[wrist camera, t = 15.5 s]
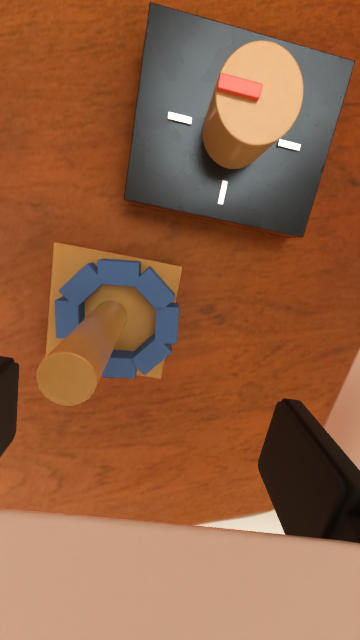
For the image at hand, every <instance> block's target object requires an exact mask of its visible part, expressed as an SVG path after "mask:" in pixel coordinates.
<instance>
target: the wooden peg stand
mask: <svg viewBox="0 0 360 640" xmlns="http://www.w3.org/2000/svg"><path fill="white" fill-rule="evenodd" d="M100 259H118V260H132V261H141V274H142V273H143V272H144V271H145V270H146V269H147V268H148V267H150V266H151V267H152V268H153V269H154V270H155V272H156V273H157V274H158V275H159V276H160V277H161V278H162V280H163V281H164V282H165V283H166V284H167V285H168V286H169V287H170V289H171V290H172V291H173V292H174V293H175V297H177V292H178V287H179V281H180V276H181V271H182V266H181V265H176V264H170V263H165V262H160V261H155V260H150V259H144V258H139V257H134V256H129V255H124V254H118V253H113V252H108V251H103V250H98V249H92V248H87V247H82V246H77V245H71V244H66V243H61V242H55V243H54V248H53V262H52V276H51V289H50V303H49V317H48V330H47V344H46V357H45V358H44V359H43V360H42V361H41V363H40V364H39V366H38V369H37V373H36V380H37V385H38V387H39V389H40V391H41V392H42V393H43V395H44V396H45V397H46V398H48V399H49V400H51V401H52V402H55V403H57V404H60V405H76V404H80V403H82V402H84V401H86V400H87V399H88V398H90V397H91V396H92V394H93V393H94V391H95V389H96V387H97V385H98V383H99V380H100V378H101V376H102V374H103V372H104V370H105V368H106V365H107V363H108V361H109V359H110V357H111V355H112V352H113V350H128V351H135V350H136V349H137V348H138V347H139V346H140V345H142V344H143V343H144V342H145V341H146V340H147V339H149V338H150V337H151V336H152V335H153V334H155V320H156V309H155V308H154V307H153V306H152V305H151V304H150V303H149V302H148V301H147V300H146V299H145V298H144V296H143V295H142V294H141V293H140V292H139V291H138V290H137V289H136V288H135V287H132V286H117V285H102V286H101V287H100V288H98V289H97V290H96V291H95V292H94V293H93V294H92V295H91V296H90V297H89V298H88V299H86V300H85V319H84V320H83V321H82V322H81V323H80V324H79V325H78V326H77V327H76V328H75V329H74V330H73V331H72V332H71V333H70V334H69V335H68V336H67V337H66V338H65V339H64V338H56V323H55V302H54V301H55V300H57V299H58V298H60V297H62V296H63V295H62V294H61V293H60V292H59V291H58V290H59V289H60V288H61V287H62V286H63V285H65V284H66V283H67V282H68V281H69V280H70V279H71V278H72V277H73V276H74V275H75V274H76V273H77V272H78V271H79V270H80V269H82V268H83V267H84V266H85V265H86V264H88V263H91V262H93V263H94V264H95V265H96V266H97V261H98V260H100ZM175 302H176V298H175V299H174V300H173V301H172V302H171V303H175ZM163 365H164V360H163V361H162V362H160V363H159V364H158V365H157V366H156V367H154V368H153V369H152V370H151V371H150V372H148V373H147V374H146V375H143V374H142V373H141V372H140V371H139V370H138V369H137V372H136V375H139V376H146V377H152V378H159V379H161V375H162V370H163Z"/></svg>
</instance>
